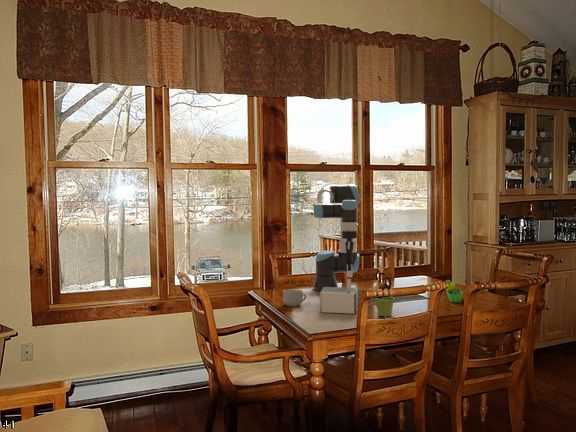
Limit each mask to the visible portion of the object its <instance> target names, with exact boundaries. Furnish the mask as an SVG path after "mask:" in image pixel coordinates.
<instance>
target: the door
mask: <svg viewBox="0 0 576 432" xmlns="http://www.w3.org/2000/svg"><path fill="white" fill-rule="evenodd" d="M346 288H347V293H335V292H321V291H319V312H320V313H327V312H329V313H330V314H331V313H333V314H334V313H335V314H351V313H353V315H355V314H354V293H351V288H352V279H351V278H347V279H346Z"/></svg>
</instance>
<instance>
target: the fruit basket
mask: <svg viewBox="0 0 576 432" xmlns="http://www.w3.org/2000/svg"><path fill="white" fill-rule="evenodd" d="M445 282H447V283H448V288H447V289H446V288H445V290H446V291H445V292H446V293H447V298H448V299H449V302H450V303H461V302H462V298H463V295H464V293H463V291H462V290H461V289H460V288H459V289H458V288H457V287H456V284H455V283H454V282H452V281H451V280H449V279H447V280H445Z"/></svg>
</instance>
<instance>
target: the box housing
mask: <svg viewBox="0 0 576 432" xmlns="http://www.w3.org/2000/svg"><path fill="white" fill-rule="evenodd" d="M320 292H335V293H347V287H339V286H338V287H323V289H322V290H321V291H320ZM358 292H359V289H358V287H351V293H354V314H353V313H350V315H351V314H353V315H356V314H357V312H358V308H357V305H358V303H359V301H358V300H359V294H358ZM358 306H359V305H358ZM326 313H327V314H328V313H329V312H326Z"/></svg>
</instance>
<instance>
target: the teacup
mask: <svg viewBox="0 0 576 432" xmlns="http://www.w3.org/2000/svg"><path fill="white" fill-rule="evenodd" d="M282 292H283V293H282V300H283V303H284V304H285V306H287V307H299V306H300V305H302V303H303V302H304V301H306V299H307V294H306V293H305V292H304V290H302V289H285V290H283V291H282Z"/></svg>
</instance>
